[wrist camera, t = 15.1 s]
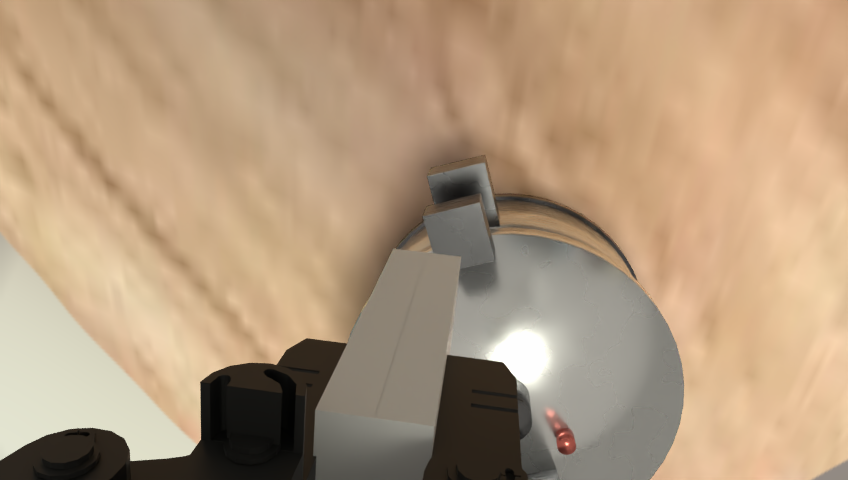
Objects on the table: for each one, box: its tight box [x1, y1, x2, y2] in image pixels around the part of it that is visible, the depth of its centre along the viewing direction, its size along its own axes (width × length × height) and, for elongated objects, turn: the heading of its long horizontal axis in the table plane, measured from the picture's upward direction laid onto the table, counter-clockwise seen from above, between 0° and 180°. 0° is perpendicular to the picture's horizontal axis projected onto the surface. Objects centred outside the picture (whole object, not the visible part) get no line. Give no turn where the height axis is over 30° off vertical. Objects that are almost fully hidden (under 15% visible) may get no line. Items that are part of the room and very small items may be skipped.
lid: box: [348, 193, 684, 480], centre depth 35 cm, size 30×19×6 cm, turn 16°
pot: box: [396, 155, 637, 280], centre depth 42 cm, size 31×18×8 cm, turn 15°
